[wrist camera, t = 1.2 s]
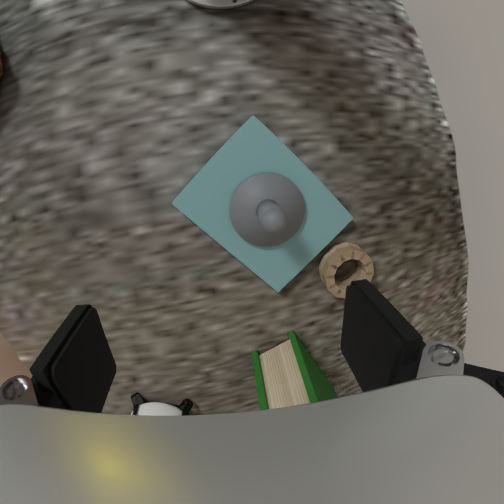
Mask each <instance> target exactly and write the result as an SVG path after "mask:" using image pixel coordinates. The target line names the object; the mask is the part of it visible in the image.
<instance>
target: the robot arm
mask: <svg viewBox="0 0 504 504" xmlns="http://www.w3.org/2000/svg"><path fill="white" fill-rule="evenodd" d="M187 1H189V2H191V3H193V4H195V5H198V6H201V7H204V8H211V9H229V8H235V7H239V6H243V5H246V4H248V3H251V2H253V1H254V0H187ZM233 1H236V3H234V2H233ZM422 339H423V337H422V336H421V335H420V334H419V333H418V332H417V331H416V330H415V329H414V327H413V326H412V325H411V324H410V323H409V322H408V321H407V320H406V319H405V318H404V317H403V316H402V315H401V314H400V313H399V312H398V311H397V309H396V308H395V307H394V306H393V305H392V304H391V303H390V302H389V301H388V300H387V299H386V298H385V297H384V296H383V295H382V294H381V293H380V292H379V291H378V290H377V289H376V288H375V287H374V286H373V285H372V284H371V283H370V282H369V281H368V280H367V279H363V280H356V281H352V282H351V284H350V285H348V286H347V287H346V295H345V307H344V318H343V328H342V337H341V351H342V354H343V355H344V357H345V359H346V361H347V363H348V365H349V367H350V368H351V370H352V372H353V374H354V376H355V378H356V380H357V381H358V383H359V385H360V387H361V389H362V391H363V392H361V393H357V394H352V395H348V396H343V397H339V398H334V399H329V400H324V401H319V402H313V403H307V404H301V405H295V406H288V407H282V408H274V409H266V410H258V411H249V412H238V413H226V414H210V415H184V416H148V415H122V414H107V413H101V412H102V409H103V406H104V403H105V401H106V398H107V395H108V392H109V390H110V387H111V384H112V381H113V379H114V376H115V374H116V364H115V361H114V358H113V356H112V353H111V350H110V348H109V345H108V342H107V339H106V337H105V334H104V331H103V328H102V325H101V322H100V319H99V316H98V313H97V310H96V309H95V308H93V307H92V306H91V305H76V306H75V307H74V309H73V310H72V311H71V312H70V314H69V315H68V316H67V318H66V319H65V320H64V322H63V323H62V324H61V326H60V327H59V328H58V330H57V331H56V332H55V334H54V335H53V336H52V338H51V339H50V341H49V342H48V343H47V345H46V346H45V348H44V349H43V350H42V352H41V353H40V355H39V356H38V358H37V359H36V361H35V362H34V363H33V365H32V366H31V368H30V369H29V370H30V372H31V373H32V375H33V376H32V378H31V379H30V378H29V377H27V376H24V375H18V376H14V377H11V378H10V379H8V380H7V381H6V382H4V383H3V384H2V386H1V387H0V504H504V372H500V371H496V370H491V369H487V368H483V367H478V366H474V365H470V364H466V363H464V355H463V352H462V351H461V349H459V348H458V347H457V346H456V345H454V344H452V343H449V342H446V341H434V342H431V343H428V344H427V345H426V344H425V343H424V342H423V341H422Z"/></svg>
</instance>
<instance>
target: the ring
mask: <svg viewBox="0 0 504 504" xmlns="http://www.w3.org/2000/svg"><path fill="white" fill-rule="evenodd" d="M350 259H356V260H357V264H358V265H357V268H356V271H355V273H354V274H353V275H352V276H351V277H350V278H348V279H346V280H343V281H338V280H335V279H334V275H335V273H336V270H337V268H338V267H339V266H340V265H341V264H342V263H343V262H344V261H347V260H350ZM319 272H320V277H321V280H322V282H323V283H324V285H325V286H326V288H327V289H328V290H329V291H330V292H331V293H332V294H333V295H334V296H335V297H339V298H345V295H346V287H347V286H348V285H350V284H351V282H352V281H356V280H363V279H367V280H368V281H369V282H371V279H372V277H373V274H374V268H373V261H372V260H371V259H370V257H369V256H368V255H367V254H366V253H365V252H364V251H363V250H362V249H361V248H360V247H358V246H357V245H356V244H352V243H347V242H343V243H340V244H337V245H334V246H332V247H331V248H330V249H329V250H328V251H327V252H326V253H325V254H324V255H323V256H322V259H321V262H320V265H319Z"/></svg>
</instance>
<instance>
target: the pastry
mask: <svg viewBox="0 0 504 504" xmlns="http://www.w3.org/2000/svg"><path fill="white" fill-rule="evenodd" d="M1 58H2V54H1V51H0V79H1V78H2V75H3V74H4V70H3V63H2V60H1Z"/></svg>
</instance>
